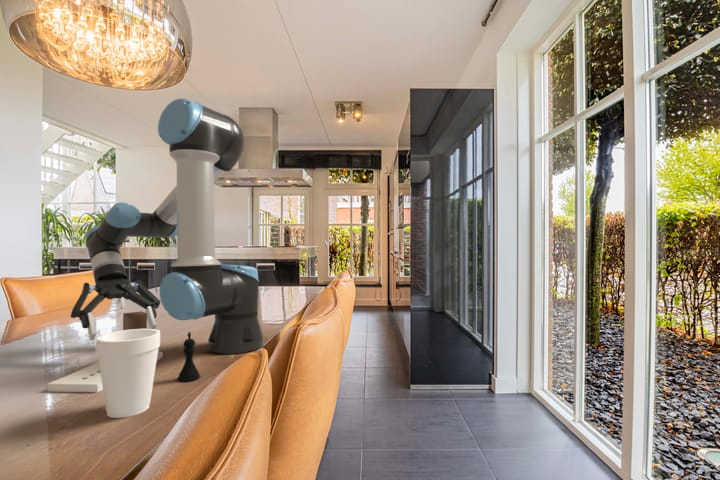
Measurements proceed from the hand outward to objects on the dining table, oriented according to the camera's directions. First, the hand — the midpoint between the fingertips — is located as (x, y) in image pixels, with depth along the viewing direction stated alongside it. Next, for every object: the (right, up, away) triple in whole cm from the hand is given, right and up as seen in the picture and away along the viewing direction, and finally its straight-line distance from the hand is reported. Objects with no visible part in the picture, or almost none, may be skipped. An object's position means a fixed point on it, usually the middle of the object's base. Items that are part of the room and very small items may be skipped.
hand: (125, 332), depth 93 cm
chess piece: (+24, -6, -15) cm, 29 cm away
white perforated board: (+5, -6, -12) cm, 14 cm away
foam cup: (+20, -6, -30) cm, 37 cm away
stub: (+5, -5, -4) cm, 8 cm away
